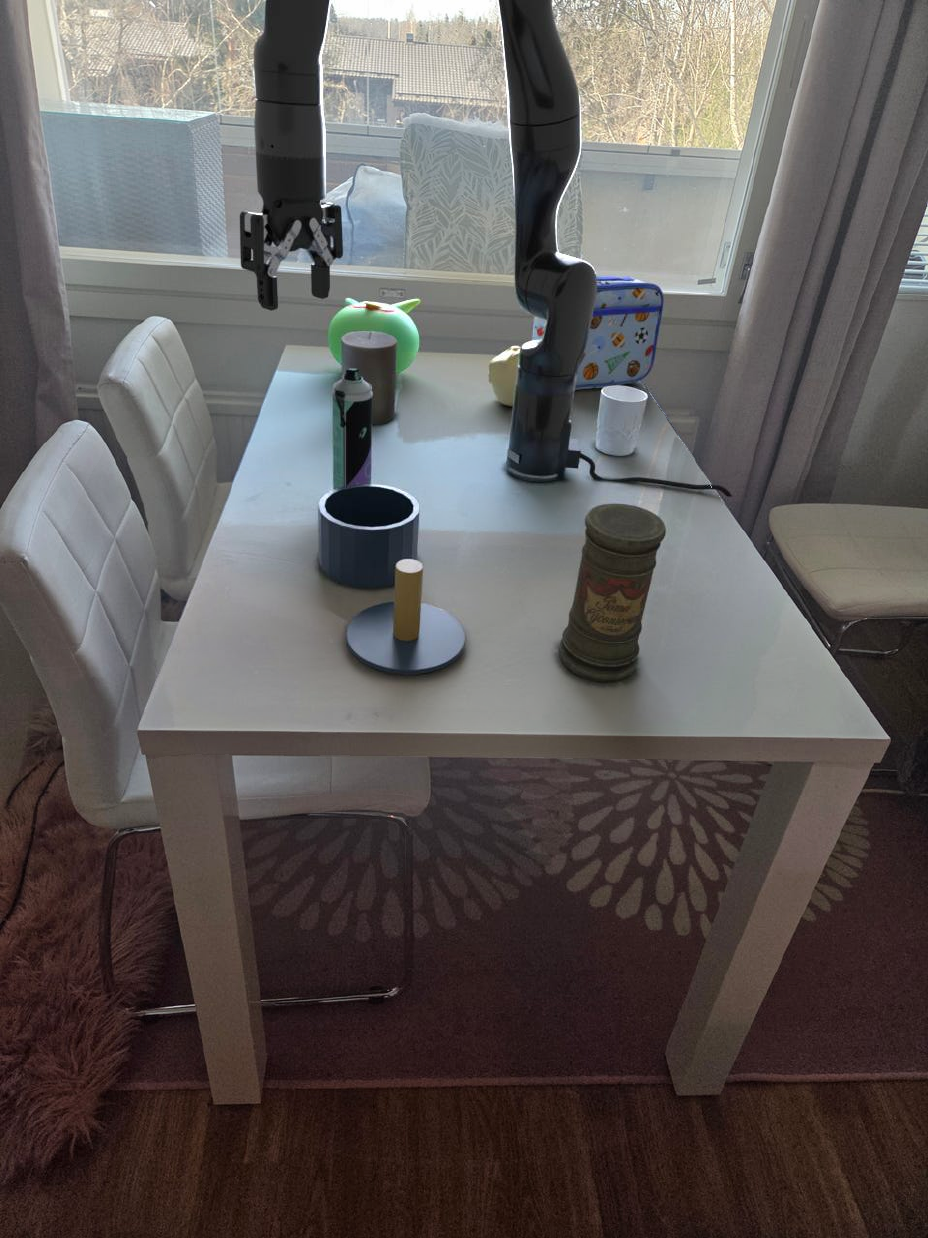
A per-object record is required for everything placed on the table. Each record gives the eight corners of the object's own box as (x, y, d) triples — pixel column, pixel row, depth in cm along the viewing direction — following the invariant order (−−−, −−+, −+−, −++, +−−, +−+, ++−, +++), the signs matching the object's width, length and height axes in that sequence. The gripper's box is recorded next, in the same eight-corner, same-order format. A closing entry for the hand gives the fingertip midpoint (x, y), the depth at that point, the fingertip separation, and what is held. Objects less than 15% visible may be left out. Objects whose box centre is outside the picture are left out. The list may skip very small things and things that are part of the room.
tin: (418, 543, 118) (421, 487, 113) (413, 592, 108) (417, 533, 103) (326, 536, 118) (325, 480, 113) (313, 585, 107) (311, 525, 103)
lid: (464, 613, 105) (471, 539, 99) (464, 682, 94) (472, 604, 88) (352, 605, 104) (353, 531, 98) (339, 674, 93) (338, 595, 87)
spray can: (364, 513, 124) (366, 377, 113) (328, 507, 125) (326, 371, 113) (375, 497, 128) (377, 365, 117) (340, 491, 129) (339, 359, 118)
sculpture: (508, 388, 173) (514, 334, 167) (560, 404, 168) (568, 348, 162) (476, 402, 165) (481, 345, 159) (529, 419, 160) (536, 361, 154)
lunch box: (541, 397, 170) (556, 281, 158) (517, 379, 178) (529, 267, 166) (654, 386, 181) (677, 277, 169) (626, 370, 189) (646, 264, 176)
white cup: (609, 460, 147) (619, 403, 141) (583, 442, 153) (592, 387, 147) (645, 454, 150) (657, 399, 145) (619, 437, 156) (629, 383, 150)
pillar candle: (405, 414, 157) (409, 331, 149) (373, 429, 150) (374, 343, 142) (363, 401, 161) (364, 319, 153) (329, 415, 154) (328, 330, 146)
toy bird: (318, 380, 168) (316, 303, 160) (342, 355, 182) (342, 283, 174) (408, 392, 167) (411, 315, 158) (425, 366, 181) (429, 293, 172)
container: (552, 636, 102) (574, 499, 92) (625, 637, 103) (656, 501, 93) (566, 683, 95) (592, 540, 85) (645, 683, 96) (680, 542, 86)
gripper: (267, 157, 87) (274, 320, 96) (359, 151, 97) (358, 299, 106) (216, 147, 90) (228, 306, 100) (311, 142, 100) (313, 287, 110)
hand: (295, 302), depth 103 cm, fingers open, 8 cm apart
